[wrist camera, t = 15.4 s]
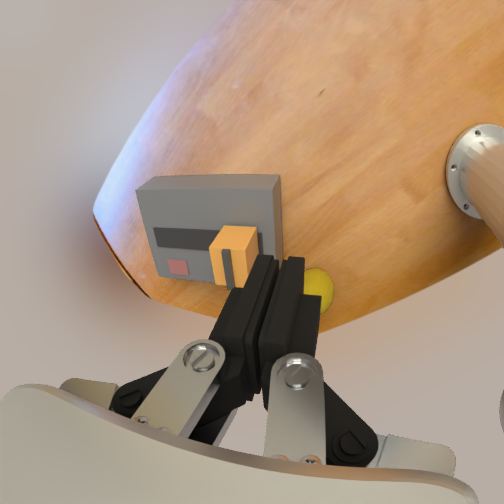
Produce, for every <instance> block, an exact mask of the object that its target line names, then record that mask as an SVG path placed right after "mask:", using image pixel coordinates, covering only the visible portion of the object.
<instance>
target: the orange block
mask: <svg viewBox="0 0 504 504" xmlns="http://www.w3.org/2000/svg"><path fill="white" fill-rule="evenodd" d="M209 251H210V257H211V262H212V268H213V273H214V278H215V284H216V285H224V286H227V289H228V290H232V289H233V288H234V287H244V285H245V282H246V280H247V278H248V275H249V273H250V271H251V268H252V266H253V264H254V261H255V259H256V257H257V255H258V254H259V249H258V237H257V227H247V226H226V225H224V226H223V228H222V229H221V231H220V232H219V233H218V235H217V236H216V238H215V239H214V241H213V242H212V244H211V245H210V247H209Z"/></svg>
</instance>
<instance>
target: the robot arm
mask: <svg viewBox="0 0 504 504" xmlns="http://www.w3.org/2000/svg"><path fill="white" fill-rule="evenodd" d="M475 131H476V133H475ZM452 165H453V167H452V168H451V166H452ZM446 181H447V186H448V189H449V192H450V195H451V197H452V198H453V200H454V202H455V203H456V204H457V206H458V207H459V208H460V209H461V210H462V211H463V212H464V213H466V214H467V215H469V216H471V217H473V218H476V219H483V220H484V222H485V223H486V224H487V226H488V227H489V228H490V230H491V231H492V232H493V234H494V235H495V236H496V238H497V239H498V241H499V242H500V244H501V245H502V246H503V248H504V128H502V127H500V126H498V125H495V124H491V123H481V124H476V125H473V126H471V127H470V128H468V129H466V130H465V131H464V132H463V133H461V134H460V135H459V137H458V138H457V139H456V140H455V142H454V144H453V146H452V147H451V149H450V152H449V155H448V158H447V164H446ZM464 204H465V205H464ZM304 267H305V259H304V257H291V256H289V258H288V260H283V261H282V264H281V267H280V270H279V260H277V259H274V256H273V255H264V254H258V255H257V257H256V259H255V261H254V264H253V266H252V268H251V271H250V273H249V275H248V278H247V280H246V282H245V285H244V287H243V288H237V287H234V288H233V289H232V290H231V292H230V294H229V296H228V298H227V300H226V303H225V305H224V307H223V309H222V311H221V313H220V315H219V317H218V320H217V322H216V324H215V326H214V328H213V330H212V332H211V334H210V337H209V339H208V340H207V339H204V340H197V341H193V342H191V343H189V344H188V345H186V346H185V347H184V348H183V349H182V350H181V351H180V353H179V354H178V355H177V357H176V358H175V359H174V361H173V362H172V363H171V365H170V366H169V367H167V368H164V369H162V370H159V371H157V372H154V373H152V374H150V375H147V376H145V377H142V378H140V379H137V380H134V381H132V382H129V383H127V384H125V385H123V386H121V387H119V386H118V385H117V384H114V383H106V382H98V381H91V380H84V379H78V378H71V379H69V380H66V381H65V382H64V383H63V384H62V385H61V386H60V388H56V387H52V386H48V385H42V384H24V385H20V386H17V387H15V388H13V389H12V390H11V391H10V392H9V393H7V395H6V396H5V397H4V398H3V399H2V400H1V402H0V504H479V501H478V498H477V495H476V494H475V492H474V490H473V489H472V488H471V487H470V486H469V485H467V484H466V483H464V482H462V481H460V480H458V479H456V478H453V476H454V471H455V466H456V457H455V455H454V452H453V451H452V450H451V449H450V448H449V447H447V446H444V445H441V444H435V443H429V442H424V441H419V440H413V439H408V438H404V437H399V436H394V435H390V434H388V435H387V436H383V435H379V434H375V433H374V431H373V430H372V429H371V428H370V427H369V426H368V425H367V424H366V423H365V422H364V421H363V420H362V419H361V418H360V417H359V416H358V415H357V414H356V413H355V412H354V411H353V410H352V409H351V408H350V407H349V406H348V405H347V404H346V403H345V402H344V401H343V400H342V399H341V398H340V397H339V396H338V395H337V394H336V393H335V392H334V391H333V390H332V389H331V388H330V387H329V386H328V385H327V384H326V383H325V382H324V379H323V370H322V366H321V364H320V363H319V362H318V360H316V359H315V351H316V344H317V337H318V330H319V321H320V312H321V301H322V296H320V295H309V294H304ZM261 388H262V393H263V402H264V408H265V409H266V410H267V412H268V415H267V426H266V436H265V446H264V447H265V448H264V456H263V457H262V456H257V455H252V454H247V453H242V452H237V451H233V450H229V449H224V448H220V447H218V446H219V444H220V442H221V440H222V439H223V437H224V435H225V433H226V431H227V430H228V428H229V426H230V424H231V422H232V420H233V419H234V417H235V415H236V413H237V409H238V407H240V406H242V405H244V404H245V403H246V400H247V401H252V400H253V396H254V393H255V394H260V391H261ZM499 413H500V421H501V426H502V429H503V432H504V391H503V393H502V397H501V401H500V409H499Z"/></svg>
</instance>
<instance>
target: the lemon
mask: <svg viewBox="0 0 504 504" xmlns="http://www.w3.org/2000/svg"><path fill="white" fill-rule="evenodd" d="M304 294H309V295H320V296H322V301H321V312H320V314H322V313H324V312H325V311H326V310H327V309H328V308H329V306H330V305H331V303H332V300H333V297H334V283H333V281H332V278H331V277H330V276H329V274H328V273H326V272H325V271H323V270H321V269H317V268H312V269H308V270H306V271H304Z"/></svg>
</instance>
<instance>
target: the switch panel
mask: <svg viewBox="0 0 504 504" xmlns="http://www.w3.org/2000/svg"><path fill="white" fill-rule="evenodd" d="M136 195H137V199H138V203H139V207H140V211H141V215H142V219H143V223H144V226H145V230H146V234H147V237H148V241H149V245H150V248H151V252H152V255H153V258H154V262H155V265H156V269H157V272H158V275H159V276H160V277H168V278H176V279H184V280H193V281H201V282H210V283H215V278H214V273H213V268H212V262H211V257H210V251H209V247H210V245H211V244H212V242H213V241H214V239H215V238H216V236H217V235H218V233H219V232H220V231H221V229H222V228H223V226H224V225H226V226H247V227H257V237H258V249H259V254H264V255H273V256H274V259H277V260H279V270H280V267H281V264H282V261H283V237H282V210H281V186H280V175H263V174H220V175H180V176H158V177H153V178H152V179H150V180H149V181H148V182H146V183H145V184H143V185H142V186H141V187H139V188H138V189H136Z"/></svg>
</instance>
